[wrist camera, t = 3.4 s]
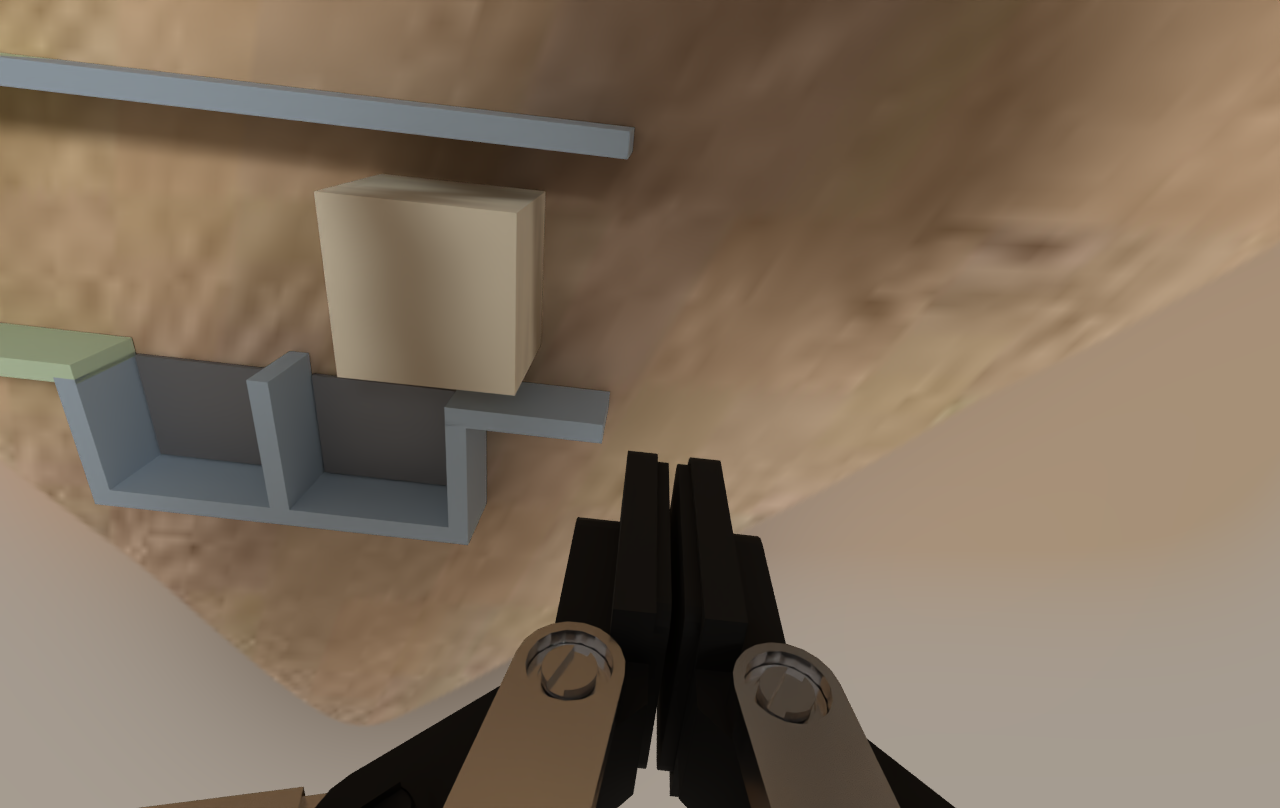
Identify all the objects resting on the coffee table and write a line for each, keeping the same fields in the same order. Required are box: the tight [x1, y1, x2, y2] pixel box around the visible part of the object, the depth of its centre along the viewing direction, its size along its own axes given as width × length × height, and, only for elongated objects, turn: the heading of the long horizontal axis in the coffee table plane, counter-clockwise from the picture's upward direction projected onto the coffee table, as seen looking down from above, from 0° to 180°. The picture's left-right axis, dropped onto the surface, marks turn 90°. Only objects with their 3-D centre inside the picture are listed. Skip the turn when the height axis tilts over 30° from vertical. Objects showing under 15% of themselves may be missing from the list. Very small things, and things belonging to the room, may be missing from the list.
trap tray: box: [0, 53, 635, 545], centre depth 24 cm, size 28×17×3 cm, turn 84°
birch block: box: [314, 174, 546, 396], centre depth 22 cm, size 6×6×5 cm
